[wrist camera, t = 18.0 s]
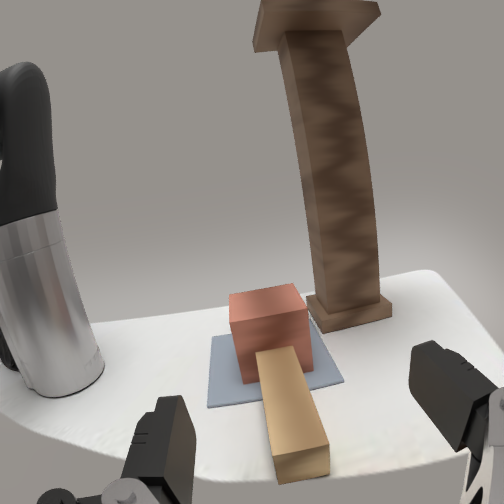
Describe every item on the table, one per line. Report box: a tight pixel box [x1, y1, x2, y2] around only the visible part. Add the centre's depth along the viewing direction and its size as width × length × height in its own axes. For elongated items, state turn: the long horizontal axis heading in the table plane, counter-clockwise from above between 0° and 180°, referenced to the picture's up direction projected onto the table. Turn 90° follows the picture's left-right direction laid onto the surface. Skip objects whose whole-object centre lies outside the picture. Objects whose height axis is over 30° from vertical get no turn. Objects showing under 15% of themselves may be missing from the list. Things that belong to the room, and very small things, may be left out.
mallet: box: [229, 283, 330, 485], centre depth 22 cm, size 6×17×6 cm, turn 4°
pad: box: [207, 319, 344, 408], centre depth 29 cm, size 11×12×1 cm
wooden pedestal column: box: [252, 0, 392, 333], centre depth 30 cm, size 11×10×32 cm
